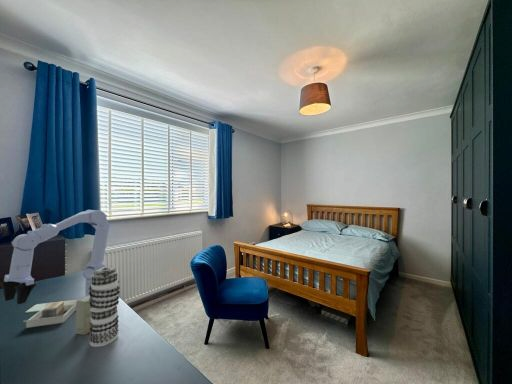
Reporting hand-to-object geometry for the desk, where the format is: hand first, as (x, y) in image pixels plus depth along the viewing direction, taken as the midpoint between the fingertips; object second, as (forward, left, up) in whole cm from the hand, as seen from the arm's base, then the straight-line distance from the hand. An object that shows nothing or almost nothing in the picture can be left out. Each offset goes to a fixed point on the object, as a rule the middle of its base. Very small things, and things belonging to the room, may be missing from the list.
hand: (15, 301), depth 84 cm
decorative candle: (-35, +17, -11) cm, 40 cm away
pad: (+1, -16, -10) cm, 19 cm away
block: (-10, -5, -10) cm, 15 cm away
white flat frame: (-10, -5, -10) cm, 15 cm away
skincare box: (-27, +9, -11) cm, 31 cm away
